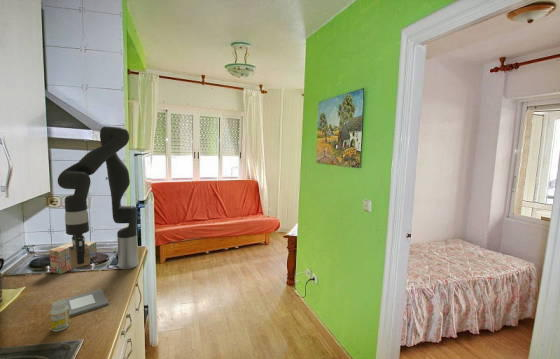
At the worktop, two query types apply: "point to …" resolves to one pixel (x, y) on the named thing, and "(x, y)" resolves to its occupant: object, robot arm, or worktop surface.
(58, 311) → the supplement bottle
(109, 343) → the worktop surface
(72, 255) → the tan wooden block
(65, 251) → the colorful cardboard box
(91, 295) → the grey flat plate
